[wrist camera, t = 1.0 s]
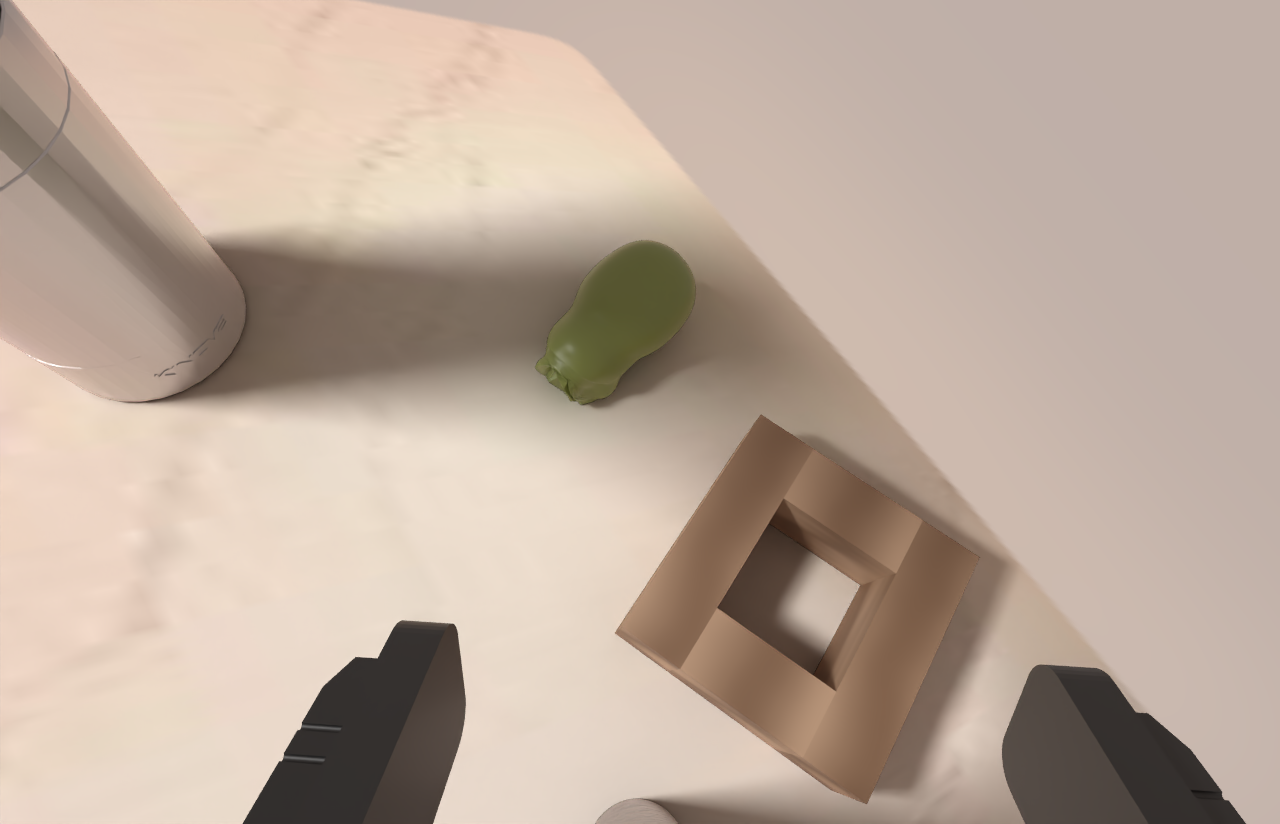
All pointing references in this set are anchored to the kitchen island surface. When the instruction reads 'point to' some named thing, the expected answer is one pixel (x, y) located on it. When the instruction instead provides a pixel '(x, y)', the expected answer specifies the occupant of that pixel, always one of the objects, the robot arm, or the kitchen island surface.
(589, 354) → the green rounded lump
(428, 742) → the robot arm
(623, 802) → the pin
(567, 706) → the kitchen island surface
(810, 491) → the socket block
